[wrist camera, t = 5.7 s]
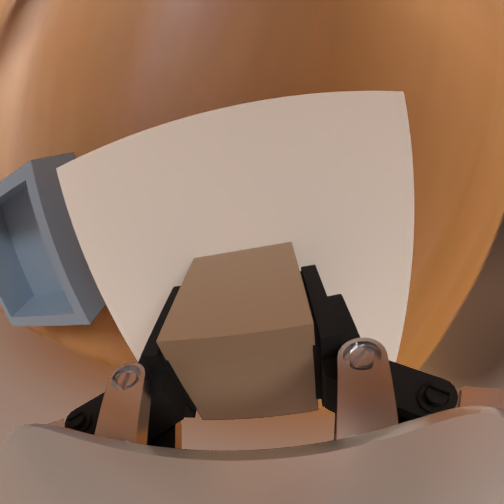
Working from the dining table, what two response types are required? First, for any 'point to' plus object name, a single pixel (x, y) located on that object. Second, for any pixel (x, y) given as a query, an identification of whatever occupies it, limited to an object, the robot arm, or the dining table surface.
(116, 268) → the lid
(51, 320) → the dish
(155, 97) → the dining table surface
